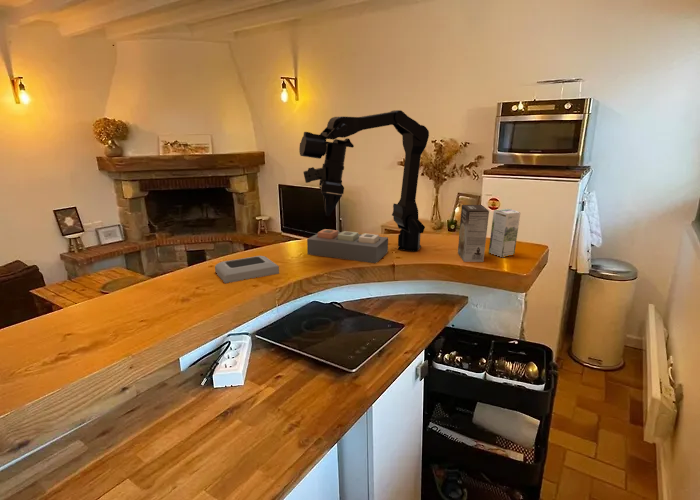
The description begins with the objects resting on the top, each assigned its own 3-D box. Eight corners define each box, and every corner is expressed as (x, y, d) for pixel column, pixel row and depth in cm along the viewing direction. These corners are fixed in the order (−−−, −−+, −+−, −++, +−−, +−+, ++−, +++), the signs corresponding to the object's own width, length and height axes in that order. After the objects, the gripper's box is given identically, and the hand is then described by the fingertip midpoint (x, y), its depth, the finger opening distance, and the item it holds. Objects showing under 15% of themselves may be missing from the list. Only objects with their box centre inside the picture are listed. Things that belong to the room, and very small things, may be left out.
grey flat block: (278, 262, 116) (224, 271, 108) (279, 274, 117) (225, 284, 109) (266, 253, 123) (214, 261, 116) (266, 265, 124) (215, 274, 117)
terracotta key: (338, 239, 138) (338, 230, 137) (332, 243, 133) (332, 233, 132) (324, 237, 139) (324, 228, 138) (317, 241, 135) (317, 232, 134)
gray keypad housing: (387, 252, 136) (388, 237, 135) (376, 263, 125) (376, 247, 124) (323, 244, 144) (323, 230, 143) (307, 254, 134) (307, 239, 132)
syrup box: (501, 251, 139) (506, 207, 134) (515, 256, 133) (520, 211, 129) (488, 253, 136) (492, 209, 132) (501, 258, 131) (507, 212, 127)
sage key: (358, 241, 135) (358, 232, 134) (352, 245, 131) (352, 235, 130) (343, 240, 137) (343, 230, 136) (337, 243, 132) (337, 234, 132)
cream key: (378, 244, 133) (379, 234, 132) (373, 248, 128) (374, 238, 127) (364, 242, 134) (364, 232, 134) (358, 246, 130) (358, 236, 129)
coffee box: (456, 253, 136) (461, 204, 132) (476, 253, 136) (481, 204, 131) (463, 262, 127) (468, 210, 123) (484, 262, 127) (490, 210, 123)
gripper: (306, 155, 130) (300, 205, 134) (307, 157, 112) (299, 215, 116) (342, 161, 132) (334, 210, 135) (348, 164, 114) (339, 220, 117)
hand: (326, 213), depth 126 cm, fingers open, 9 cm apart
